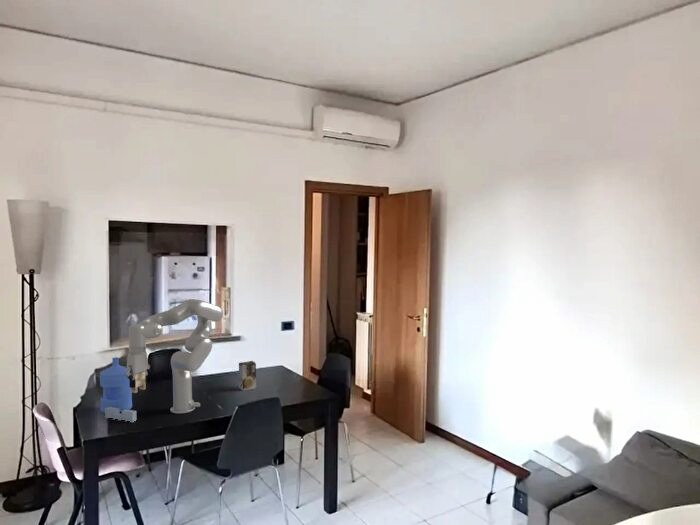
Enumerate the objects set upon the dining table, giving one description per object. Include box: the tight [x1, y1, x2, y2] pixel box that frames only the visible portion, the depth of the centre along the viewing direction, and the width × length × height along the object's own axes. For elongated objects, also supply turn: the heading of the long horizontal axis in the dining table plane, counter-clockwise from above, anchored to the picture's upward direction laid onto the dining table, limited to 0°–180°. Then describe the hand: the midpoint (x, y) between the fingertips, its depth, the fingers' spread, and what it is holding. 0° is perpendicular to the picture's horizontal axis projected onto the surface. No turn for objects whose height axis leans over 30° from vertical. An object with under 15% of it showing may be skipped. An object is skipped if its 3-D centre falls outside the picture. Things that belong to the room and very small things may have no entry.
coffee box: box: [238, 360, 257, 392], centre depth 311 cm, size 9×6×16 cm
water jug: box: [99, 356, 133, 414], centre depth 273 cm, size 16×16×28 cm
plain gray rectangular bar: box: [104, 407, 138, 423], centre depth 258 cm, size 18×3×5 cm, turn 69°
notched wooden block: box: [131, 371, 147, 394], centre depth 251 cm, size 7×3×9 cm, turn 160°
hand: (138, 385), depth 251 cm, fingers closed on notched wooden block, 7 cm apart
